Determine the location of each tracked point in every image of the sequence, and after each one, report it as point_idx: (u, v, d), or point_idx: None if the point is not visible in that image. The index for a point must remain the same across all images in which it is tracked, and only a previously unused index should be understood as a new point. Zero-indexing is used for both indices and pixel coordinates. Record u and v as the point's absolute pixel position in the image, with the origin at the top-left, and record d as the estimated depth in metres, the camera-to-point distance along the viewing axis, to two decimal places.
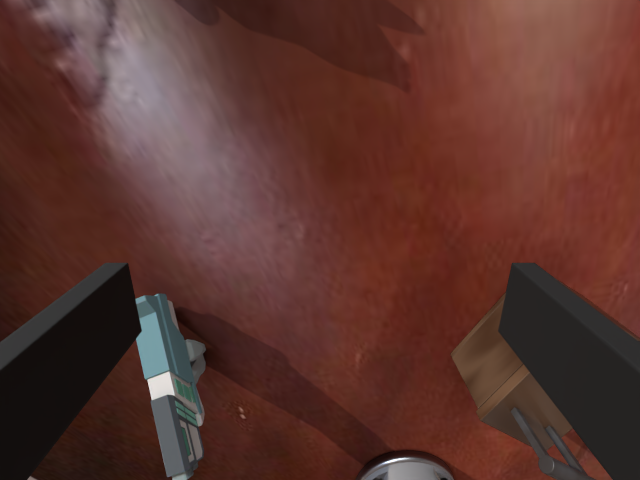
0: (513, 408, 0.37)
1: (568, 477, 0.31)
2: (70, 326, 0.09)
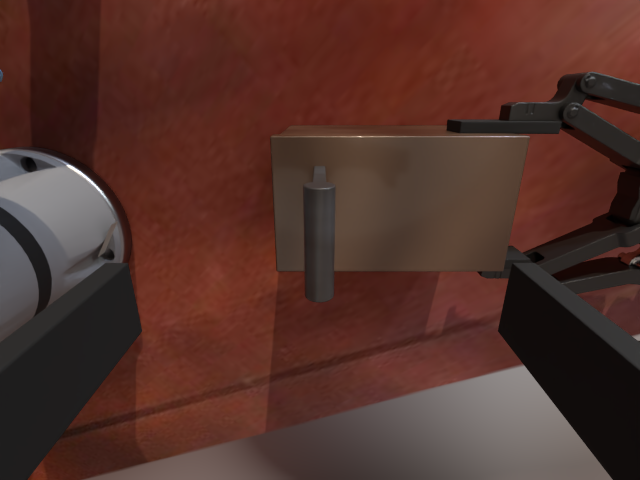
0: (321, 165, 0.22)
1: (325, 226, 0.17)
2: (70, 326, 0.09)
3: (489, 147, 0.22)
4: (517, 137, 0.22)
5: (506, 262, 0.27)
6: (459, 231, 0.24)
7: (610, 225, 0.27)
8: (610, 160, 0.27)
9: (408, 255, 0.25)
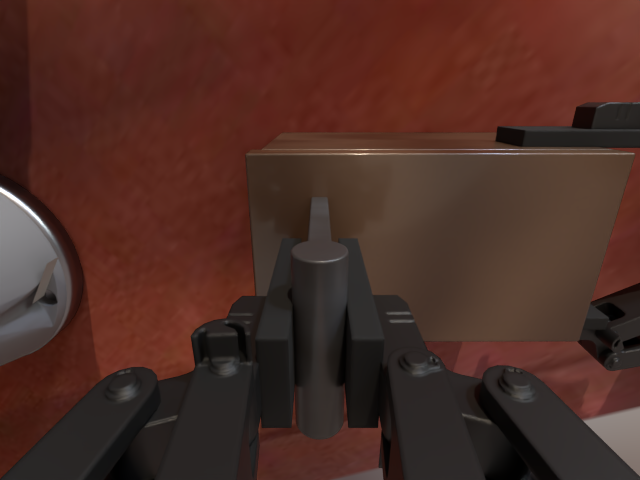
0: (322, 196, 0.15)
1: (330, 324, 0.09)
2: None
3: (573, 169, 0.15)
4: (617, 155, 0.15)
5: None
6: (521, 288, 0.17)
7: None
8: None
9: (446, 320, 0.17)
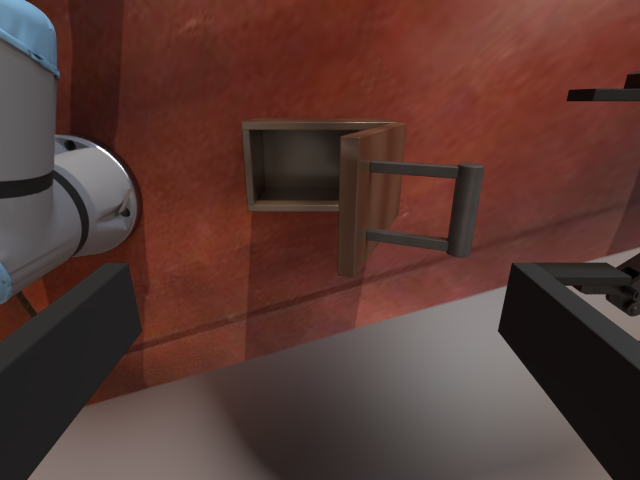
0: (372, 160, 0.24)
1: None
2: (70, 326, 0.09)
3: (401, 132, 0.33)
4: (405, 124, 0.34)
5: (608, 279, 0.29)
6: (394, 194, 0.34)
7: None
8: None
9: (385, 221, 0.31)
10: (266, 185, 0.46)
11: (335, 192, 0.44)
